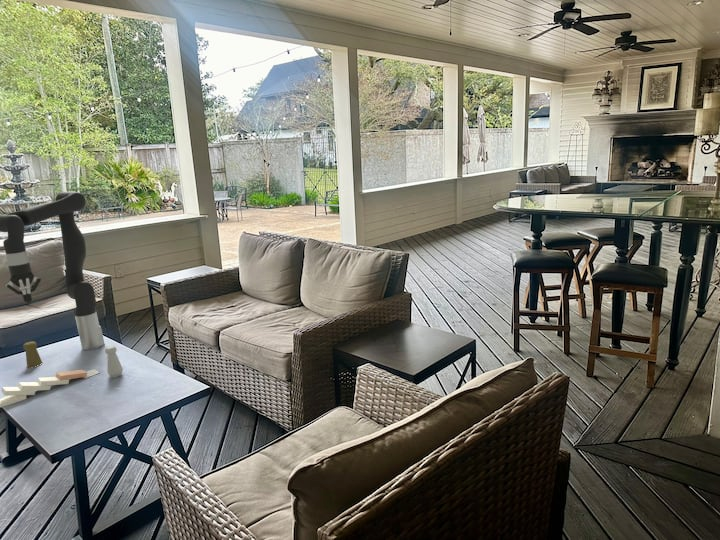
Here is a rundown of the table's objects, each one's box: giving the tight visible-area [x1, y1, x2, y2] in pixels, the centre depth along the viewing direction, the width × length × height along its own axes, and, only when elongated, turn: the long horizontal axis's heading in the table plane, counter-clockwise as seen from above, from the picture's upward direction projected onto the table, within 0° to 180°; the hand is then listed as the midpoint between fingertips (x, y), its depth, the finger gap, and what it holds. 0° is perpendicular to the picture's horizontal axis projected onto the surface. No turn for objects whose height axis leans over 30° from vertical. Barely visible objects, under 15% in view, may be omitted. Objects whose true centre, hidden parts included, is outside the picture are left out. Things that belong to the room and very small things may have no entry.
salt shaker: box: [104, 345, 124, 379], centre depth 207 cm, size 6×6×13 cm
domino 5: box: [55, 369, 88, 380], centre depth 207 cm, size 2×5×10 cm
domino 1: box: [1, 386, 37, 397], centre depth 194 cm, size 2×5×10 cm
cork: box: [22, 341, 43, 369], centre depth 225 cm, size 6×6×11 cm
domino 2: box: [0, 395, 27, 408], centre depth 192 cm, size 2×5×10 cm
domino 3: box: [17, 381, 52, 391], centre depth 198 cm, size 2×5×10 cm
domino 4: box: [36, 376, 70, 386], centre depth 202 cm, size 2×5×10 cm
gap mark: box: [82, 368, 100, 379], centre depth 212 cm, size 6×6×1 cm
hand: (28, 302), depth 211 cm, fingers closed
